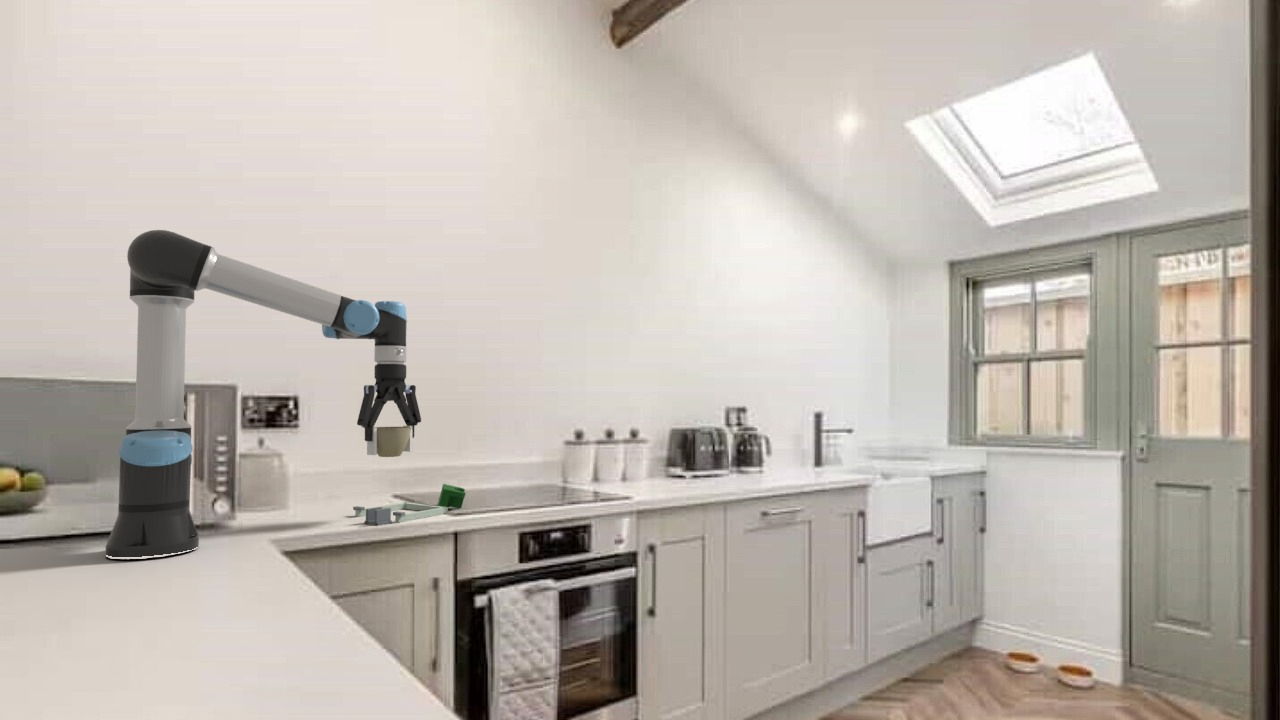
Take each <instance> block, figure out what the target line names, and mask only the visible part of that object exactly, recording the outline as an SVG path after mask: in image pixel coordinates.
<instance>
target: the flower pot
mask: <svg viewBox="0 0 1280 720" xmlns="http://www.w3.org/2000/svg"><path fill="white" fill-rule="evenodd" d="M373 428H377V455H378V457H380V458H395V457H401V456H402V454H403V452H405V451H404V449H405V447H406V445H407V442H408V440H409V437H410V432H411V427H403V426H374V427H373Z"/></svg>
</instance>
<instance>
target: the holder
mask: <svg viewBox="0 0 1280 720" xmlns="http://www.w3.org/2000/svg"><path fill="white" fill-rule="evenodd" d="M376 507H377V506H373V507H372V508H376ZM378 507H382V509H385V508H391V512H392V516H394V517H395V519H394V521H395V523H402V521H403V522H408V520H409V521H414V520H419V519H423V518H424V517H425V518H429V516H430V517H435V516H440V515H439V514H441V515H445V514H444V513H446V514H448V513H449V506H447V507H441V506H438V505H431V504H421V503H414V502H407V501H406V502H405V501H404V502H399V503H393V504H387V505H380V506H378ZM369 508H370V507H368V508H366V507H364V506H359V505H357V506H353V507H352V510H353V511H354V512H355V513H354V515H355V517H364V516H365V517H366V509H369ZM410 509H411V510H413V511H414V512H410V513H406V512H403V511H399V510H410ZM411 510H410V511H411ZM418 510H420V511H418ZM434 515H435V516H434ZM425 518H424V519H425Z"/></svg>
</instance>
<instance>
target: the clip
mask: <svg viewBox="0 0 1280 720" xmlns="http://www.w3.org/2000/svg"><path fill="white" fill-rule="evenodd" d="M375 507H376V508H373V507H368V508H369V509H367V508H365V509H366V515H365V520H363V521H364V522H363V523H364V525H371V524H372V526H377V525H379V526H384V525H389V524H392V523H393V520H392V519H391V517H392V515H391V513H392V511H391V508H385V509H382V507H379V506H375ZM388 523H389V524H388ZM383 524H384V525H383Z"/></svg>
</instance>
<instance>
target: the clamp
mask: <svg viewBox="0 0 1280 720" xmlns="http://www.w3.org/2000/svg"><path fill="white" fill-rule="evenodd" d="M466 494H467V493H466V490H465V488H464V487H460V486H454V485H450V484H445V483H443V484H442V488H441V491H440V494H439V498H438V501H437V506H441V507H448V508H449V507H451V508H454V509H459V508H461V509H462V507H463V503H464V499H465V496H466Z"/></svg>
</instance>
